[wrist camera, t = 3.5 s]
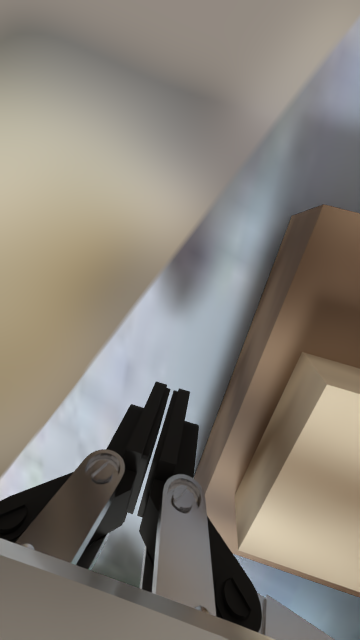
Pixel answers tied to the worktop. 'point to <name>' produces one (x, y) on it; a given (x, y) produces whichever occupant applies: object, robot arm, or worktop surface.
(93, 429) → the worktop surface
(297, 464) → the birch tile
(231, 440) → the walnut plinth
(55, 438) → the worktop surface
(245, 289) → the worktop surface
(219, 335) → the worktop surface
